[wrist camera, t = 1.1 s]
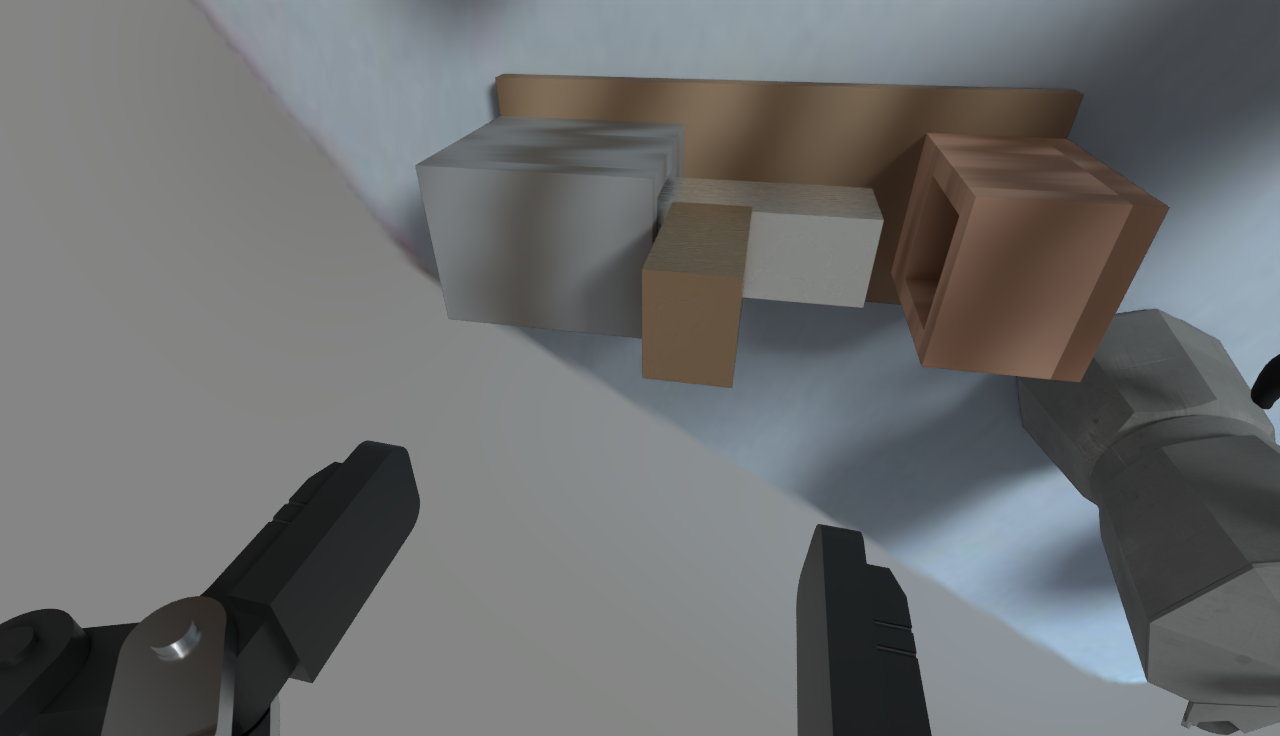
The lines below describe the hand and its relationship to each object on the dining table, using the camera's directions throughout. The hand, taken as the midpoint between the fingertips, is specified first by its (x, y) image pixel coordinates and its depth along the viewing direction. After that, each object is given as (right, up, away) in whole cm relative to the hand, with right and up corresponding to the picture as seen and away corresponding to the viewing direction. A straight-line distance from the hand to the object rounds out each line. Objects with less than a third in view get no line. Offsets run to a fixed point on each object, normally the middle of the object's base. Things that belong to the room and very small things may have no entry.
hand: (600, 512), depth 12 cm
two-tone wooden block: (+2, +10, +15) cm, 18 cm away
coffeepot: (+26, +3, +20) cm, 32 cm away
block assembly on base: (+6, +12, +18) cm, 22 cm away
